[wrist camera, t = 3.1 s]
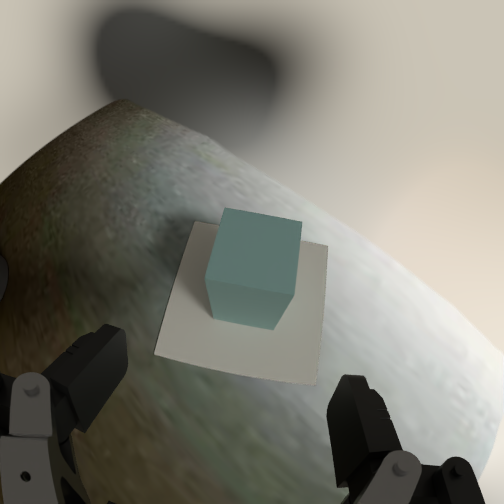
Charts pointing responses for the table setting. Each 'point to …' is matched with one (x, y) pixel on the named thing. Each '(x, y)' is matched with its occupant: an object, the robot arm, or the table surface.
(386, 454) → the robot arm
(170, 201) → the table surface
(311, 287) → the card
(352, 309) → the table surface
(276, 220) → the teal block
